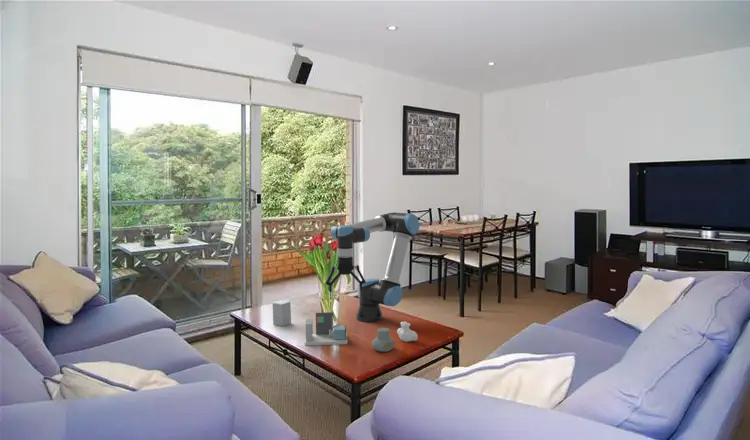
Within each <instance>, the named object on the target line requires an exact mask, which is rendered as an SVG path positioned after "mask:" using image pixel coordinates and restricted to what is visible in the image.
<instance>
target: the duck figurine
mask: <svg viewBox="0 0 750 440" xmlns="http://www.w3.org/2000/svg"><path fill="white" fill-rule="evenodd" d="M399 323H400V327H399V328H397V330H396V333H397V335H398V337H399V339H400V340H401V341H403V342H406V343H407V342H408V343H409V342H416V341H417V340H418V338H419V337H418V336H419V335H418V334H417V332H416V331H414V330H411V329H410V326H411V323H410V322H408V321H401V322H399Z"/></svg>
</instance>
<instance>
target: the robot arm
mask: <svg viewBox="0 0 750 440" xmlns="http://www.w3.org/2000/svg"><path fill="white" fill-rule="evenodd" d="M419 230H420V221H419V219H418V216H416V215H415V214H413V213H410V212H408V213H407V212H389V213H385V214H380V215H377V216H375V217H374V218H371V219H366V220H363V221H359V222H354V223H350V224H346V225H345V224H344V225H334V226H333V227H332V228H331V229H330V236H331V237H332V239H334V240H336V241H337V256H338V257H337V266H335V265H331V269H330V273H329V274H328V276H327V278H326V280H325V285H326V286H328V292H329V293H331V295H330V296H331V299H334V283H335V282H336V281H337V279H338V278H339V277H340V276H341V275H342V276H344V275H346V276H347V275H348V276H349V275H350V274H351V276H352V277H353V278H354V279H355V281H357V297H358V298H359V306H358V309H357V312H356V320H357V321H359V322H363V323H365V322H366V323H374V322H379V321H381V320H383V312H382V310H381V306H380V305H383V306H386V307H395V306H397V305H398V304H400V302H401V301H402V298H403V295H404V294H403V293H404V292H403V288H402V287H401V285H402V284H401V282H400V278H401V274H402V269H403V266H404V263H405V262H404V261H405V257H406V254H407V250H408V246H409V242H410V240H412V239H413V236H414V235H416V234H417V233H419ZM376 232H378V233H381V232H391V233H392V234H393V237H394V238H393V241H392V246H391V248H390V253H389V257H388V261H387V264H386V269H385V272H384V276H383V277H382V278H380V279H379V278H366V279H365V278H364V276H363V274H362V273H361V270H360V265H359V264H356V265H354V258H353V257H354V256H353V255H354V254H353V253H354V250H353V249H354V244H358V243H366V242H368V241H369V239H371V238H370V237H371V233H376ZM336 270H337V273H336V274H335V275H334V276H333V274H334V272H335V271H336ZM353 270H355V271H356V272H357V273H358V275H359V277H360V279H361V280H360V279H359V277H358V276H357V275H356V274H355V272H353ZM332 276H333V278H332Z"/></svg>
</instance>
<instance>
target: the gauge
mask: <svg viewBox="0 0 750 440" xmlns="http://www.w3.org/2000/svg"><path fill="white" fill-rule="evenodd" d="M346 333H347V325H334V315H333V316H332V331H330V330H329V336H330V334H334V340H336V339H346Z"/></svg>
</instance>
